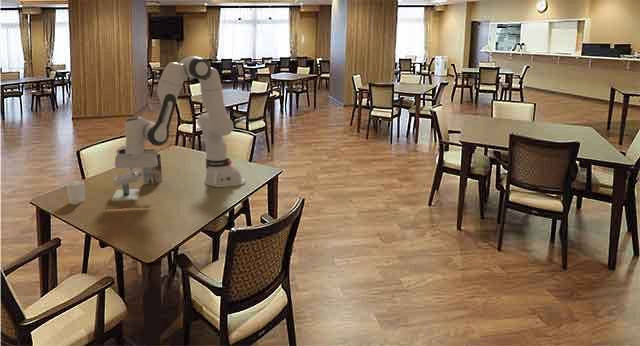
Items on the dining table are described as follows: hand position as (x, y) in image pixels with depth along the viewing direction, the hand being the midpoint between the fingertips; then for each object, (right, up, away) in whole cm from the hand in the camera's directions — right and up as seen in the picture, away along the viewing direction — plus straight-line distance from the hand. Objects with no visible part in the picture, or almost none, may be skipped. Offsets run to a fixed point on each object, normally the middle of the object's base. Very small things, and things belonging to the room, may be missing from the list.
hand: (137, 175), depth 257 cm
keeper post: (-6, -10, +2) cm, 12 cm away
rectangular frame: (-5, -3, 0) cm, 5 cm away
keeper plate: (-6, -11, +2) cm, 12 cm away
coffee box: (0, -5, +24) cm, 24 cm away
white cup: (-26, -13, -8) cm, 31 cm away
